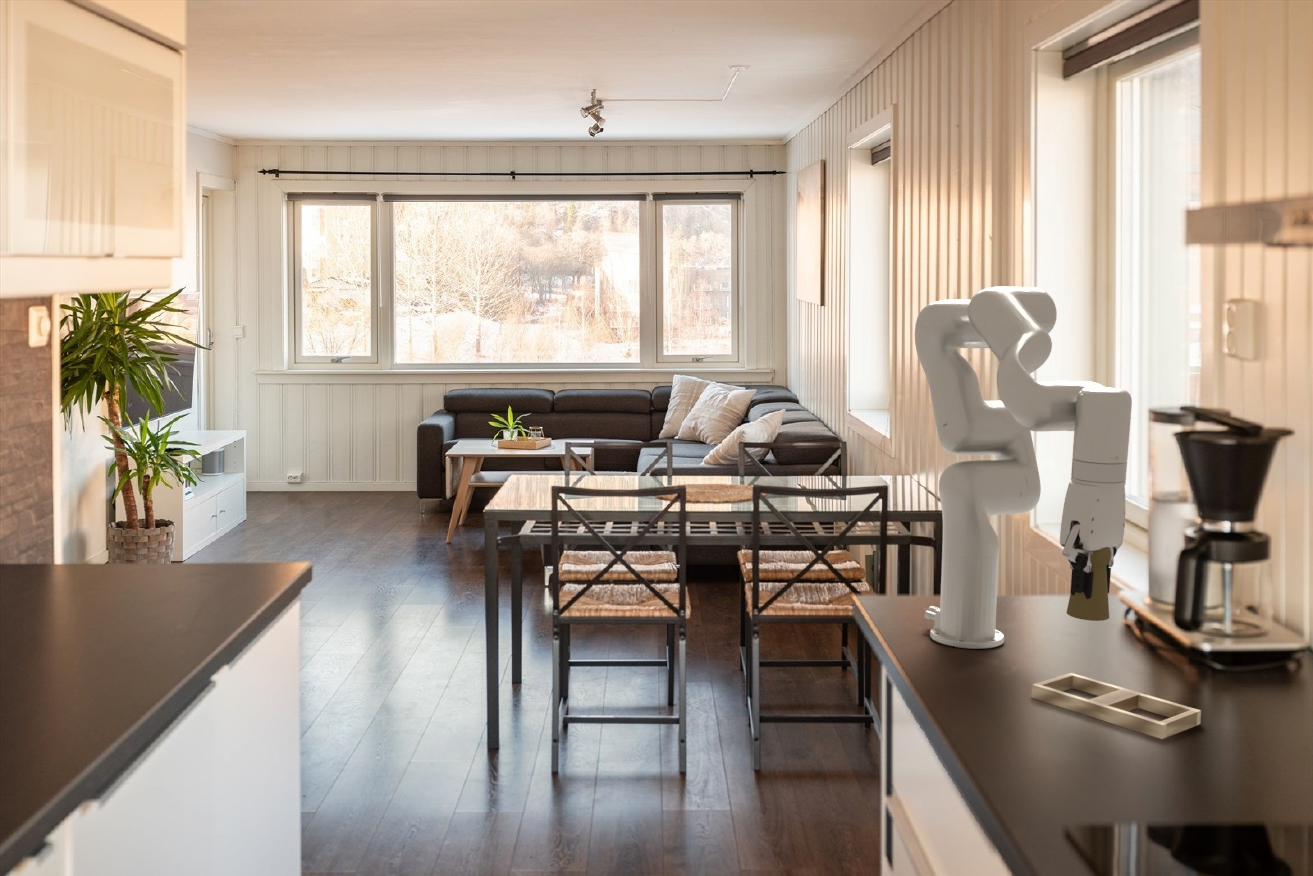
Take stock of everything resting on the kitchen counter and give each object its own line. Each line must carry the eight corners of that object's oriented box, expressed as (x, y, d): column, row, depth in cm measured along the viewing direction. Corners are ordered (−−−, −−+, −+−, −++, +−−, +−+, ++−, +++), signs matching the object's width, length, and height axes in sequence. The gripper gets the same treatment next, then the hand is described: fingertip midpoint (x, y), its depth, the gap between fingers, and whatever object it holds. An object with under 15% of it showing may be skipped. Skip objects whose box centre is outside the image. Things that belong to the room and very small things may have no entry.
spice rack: (1031, 697, 181) (1031, 684, 181) (1070, 685, 187) (1071, 672, 187) (1161, 739, 164) (1162, 725, 164) (1200, 724, 170) (1201, 710, 170)
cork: (1112, 622, 175) (1118, 548, 173) (1069, 619, 176) (1074, 545, 174) (1105, 610, 180) (1111, 539, 179) (1063, 607, 182) (1068, 536, 180)
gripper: (1107, 463, 183) (1098, 580, 186) (1042, 473, 173) (1034, 597, 176) (1153, 471, 177) (1143, 591, 180) (1088, 481, 167) (1079, 609, 170)
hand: (1089, 593), depth 178 cm, fingers closed on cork, 3 cm apart
